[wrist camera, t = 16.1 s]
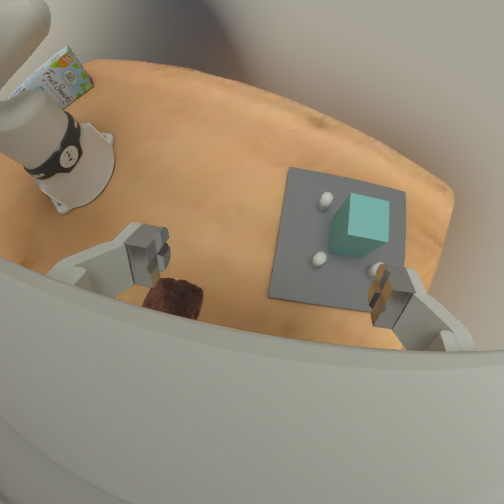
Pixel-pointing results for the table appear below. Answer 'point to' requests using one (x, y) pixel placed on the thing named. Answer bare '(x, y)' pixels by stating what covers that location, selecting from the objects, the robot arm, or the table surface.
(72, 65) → the snack box
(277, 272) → the peg board
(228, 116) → the table surface
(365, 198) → the teal post
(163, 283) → the wooden tablet
